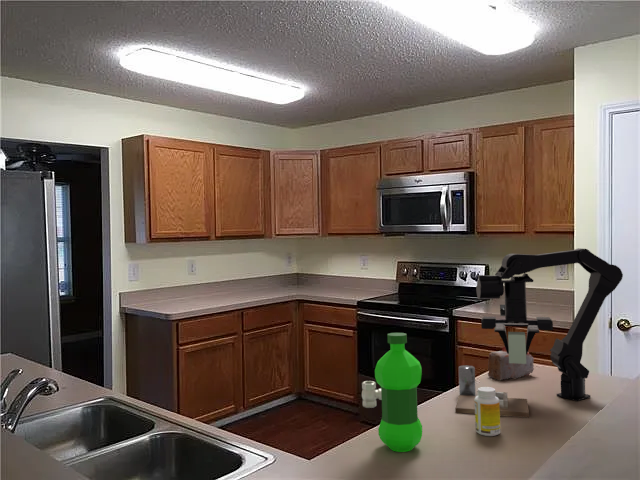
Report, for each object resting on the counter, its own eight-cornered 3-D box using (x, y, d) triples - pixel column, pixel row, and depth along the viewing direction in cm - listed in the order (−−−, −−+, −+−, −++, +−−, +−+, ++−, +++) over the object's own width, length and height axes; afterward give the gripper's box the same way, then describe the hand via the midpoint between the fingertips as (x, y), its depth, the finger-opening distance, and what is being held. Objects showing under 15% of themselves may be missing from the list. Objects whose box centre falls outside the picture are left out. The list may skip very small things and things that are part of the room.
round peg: (467, 391, 161) (466, 364, 161) (479, 395, 158) (478, 367, 157) (456, 394, 159) (455, 367, 159) (467, 398, 155) (466, 369, 155)
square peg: (525, 360, 155) (524, 332, 155) (526, 363, 151) (525, 334, 151) (509, 359, 157) (508, 331, 157) (509, 363, 152) (508, 334, 152)
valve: (363, 410, 148) (407, 408, 148) (362, 386, 148) (406, 384, 148) (361, 403, 154) (403, 401, 155) (360, 379, 154) (402, 378, 154)
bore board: (527, 403, 148) (526, 391, 148) (528, 417, 137) (528, 404, 137) (459, 399, 154) (458, 387, 154) (455, 412, 143) (454, 400, 143)
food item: (518, 371, 183) (517, 342, 183) (536, 376, 176) (535, 345, 176) (485, 376, 178) (484, 346, 178) (503, 382, 170) (502, 350, 170)
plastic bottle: (434, 446, 120) (430, 333, 120) (403, 460, 113) (398, 340, 113) (399, 435, 128) (395, 328, 128) (368, 448, 121) (363, 335, 121)
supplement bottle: (505, 434, 126) (504, 389, 126) (487, 438, 124) (485, 393, 124) (488, 427, 131) (487, 384, 131) (470, 431, 129) (469, 388, 129)
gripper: (549, 295, 158) (550, 349, 158) (482, 295, 164) (483, 347, 164) (552, 299, 148) (554, 357, 148) (480, 299, 154) (482, 354, 154)
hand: (517, 353), depth 154 cm, fingers closed on square peg, 4 cm apart
